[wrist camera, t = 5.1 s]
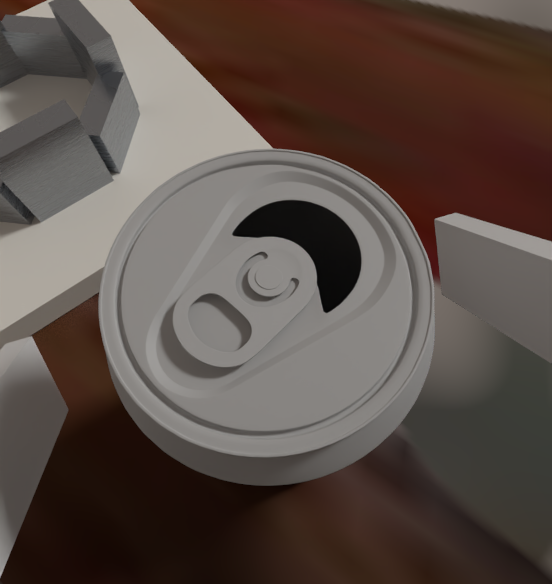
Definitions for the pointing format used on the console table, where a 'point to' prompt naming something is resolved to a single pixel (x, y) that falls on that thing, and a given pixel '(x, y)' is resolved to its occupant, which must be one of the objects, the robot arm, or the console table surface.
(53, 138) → the collar
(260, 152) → the beverage can
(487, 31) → the console table surface
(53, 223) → the board
